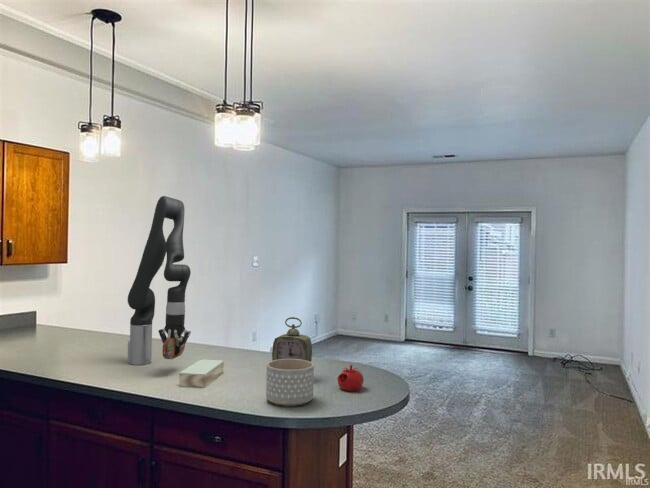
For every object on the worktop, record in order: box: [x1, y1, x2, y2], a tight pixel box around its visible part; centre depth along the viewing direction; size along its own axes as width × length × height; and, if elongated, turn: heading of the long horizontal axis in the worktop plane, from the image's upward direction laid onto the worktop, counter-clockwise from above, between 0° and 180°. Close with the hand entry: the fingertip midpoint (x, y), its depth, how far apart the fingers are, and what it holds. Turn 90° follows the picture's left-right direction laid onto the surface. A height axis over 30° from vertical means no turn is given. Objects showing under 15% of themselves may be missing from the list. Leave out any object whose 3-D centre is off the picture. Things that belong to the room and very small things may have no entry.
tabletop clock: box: [271, 316, 313, 362], centre depth 204 cm, size 14×9×25 cm, turn 75°
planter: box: [265, 359, 315, 407], centre depth 177 cm, size 16×16×13 cm
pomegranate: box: [337, 364, 364, 392], centre depth 192 cm, size 10×10×9 cm
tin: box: [162, 335, 186, 360], centre depth 209 cm, size 15×3×8 cm, turn 169°
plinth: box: [178, 359, 225, 388], centre depth 201 cm, size 10×22×5 cm, turn 173°
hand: (173, 354), depth 209 cm, fingers closed on tin, 2 cm apart
